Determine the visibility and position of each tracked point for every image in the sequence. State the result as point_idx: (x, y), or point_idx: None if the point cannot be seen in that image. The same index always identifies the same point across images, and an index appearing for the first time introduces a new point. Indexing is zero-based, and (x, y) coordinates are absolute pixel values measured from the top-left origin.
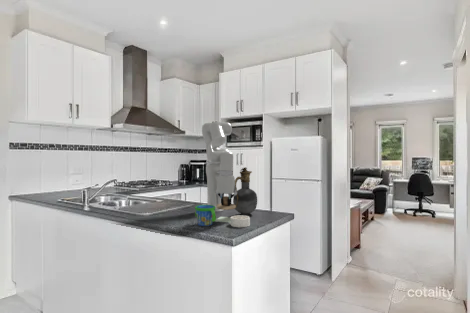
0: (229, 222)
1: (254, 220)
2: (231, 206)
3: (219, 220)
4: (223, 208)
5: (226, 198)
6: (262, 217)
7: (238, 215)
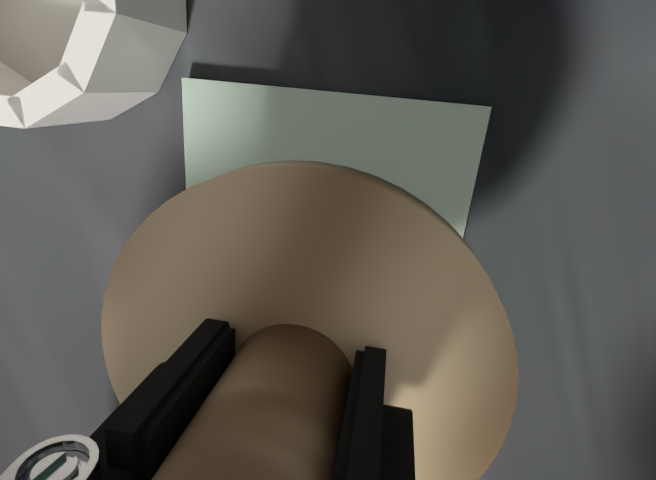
0: (233, 82)
1: (37, 293)
2: (154, 305)
3: (399, 165)
4: (292, 163)
5: (183, 469)
6: (25, 417)
7: (47, 104)
